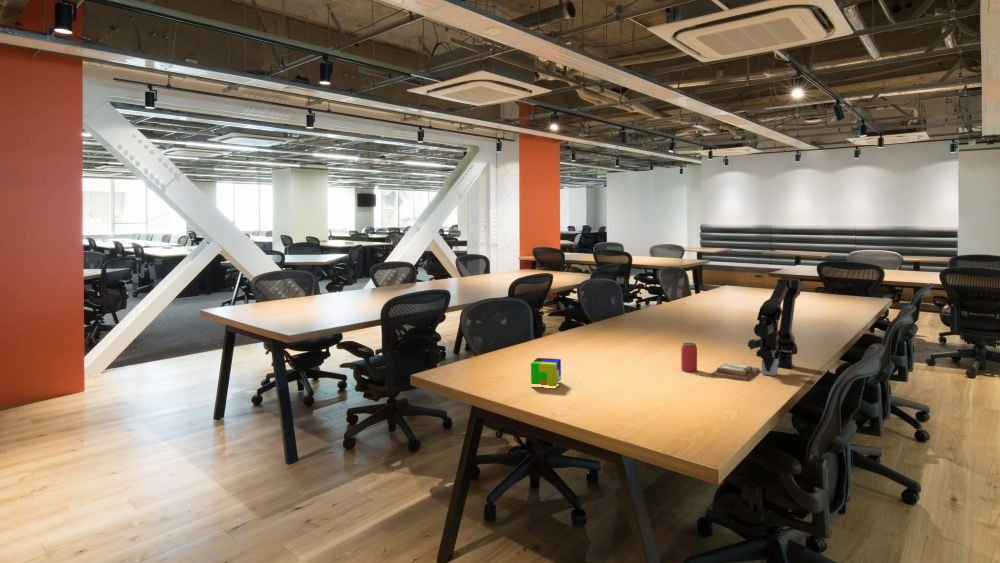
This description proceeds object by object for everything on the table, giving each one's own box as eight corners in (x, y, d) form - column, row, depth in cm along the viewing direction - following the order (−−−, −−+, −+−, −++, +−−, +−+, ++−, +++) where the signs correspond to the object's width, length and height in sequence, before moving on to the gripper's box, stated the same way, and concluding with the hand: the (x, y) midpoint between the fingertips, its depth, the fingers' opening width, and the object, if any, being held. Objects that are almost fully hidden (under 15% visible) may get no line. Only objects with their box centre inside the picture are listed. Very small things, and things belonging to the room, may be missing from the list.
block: (764, 371, 244) (765, 357, 244) (777, 373, 241) (777, 359, 241) (761, 374, 240) (761, 360, 240) (774, 375, 237) (774, 361, 237)
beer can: (698, 372, 246) (698, 345, 245) (682, 372, 248) (682, 345, 247) (695, 368, 253) (696, 342, 252) (680, 368, 254) (680, 342, 253)
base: (726, 366, 256) (726, 359, 255) (759, 370, 247) (759, 363, 247) (711, 376, 240) (711, 368, 240) (746, 380, 232) (746, 373, 231)
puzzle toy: (561, 382, 236) (560, 359, 235) (555, 389, 227) (555, 364, 226) (537, 381, 239) (537, 357, 238) (531, 387, 230) (530, 363, 229)
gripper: (756, 328, 251) (755, 363, 253) (743, 335, 237) (743, 372, 238) (783, 330, 244) (782, 366, 246) (772, 338, 230) (771, 375, 231)
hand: (769, 370), depth 241 cm, fingers closed on block, 5 cm apart
